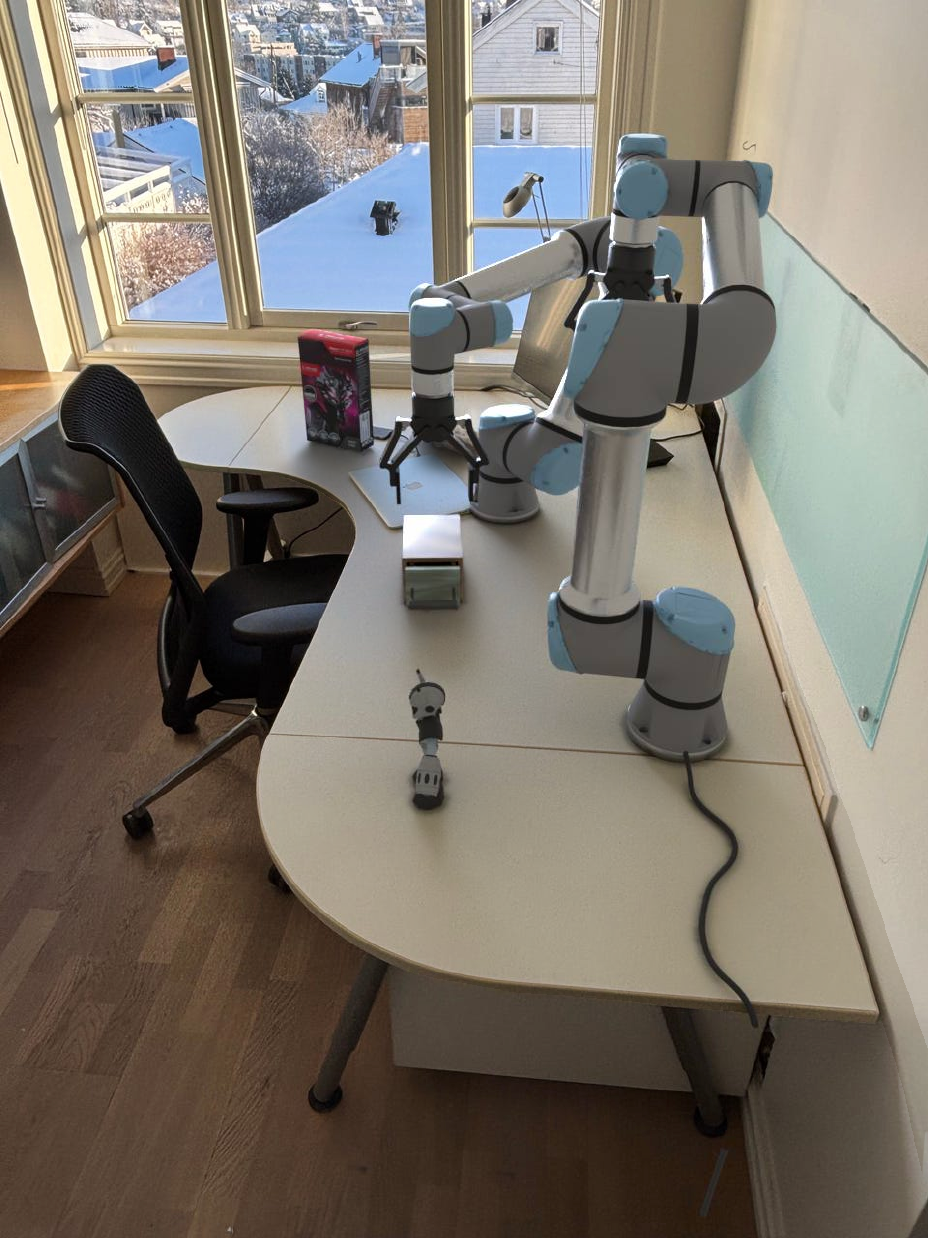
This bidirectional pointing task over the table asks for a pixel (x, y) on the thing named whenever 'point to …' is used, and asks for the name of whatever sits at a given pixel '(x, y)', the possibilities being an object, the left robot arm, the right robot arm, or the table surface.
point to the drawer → (432, 585)
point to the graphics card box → (336, 389)
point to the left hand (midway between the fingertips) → (434, 499)
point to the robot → (428, 742)
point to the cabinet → (432, 542)
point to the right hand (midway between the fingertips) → (619, 371)
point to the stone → (462, 436)
